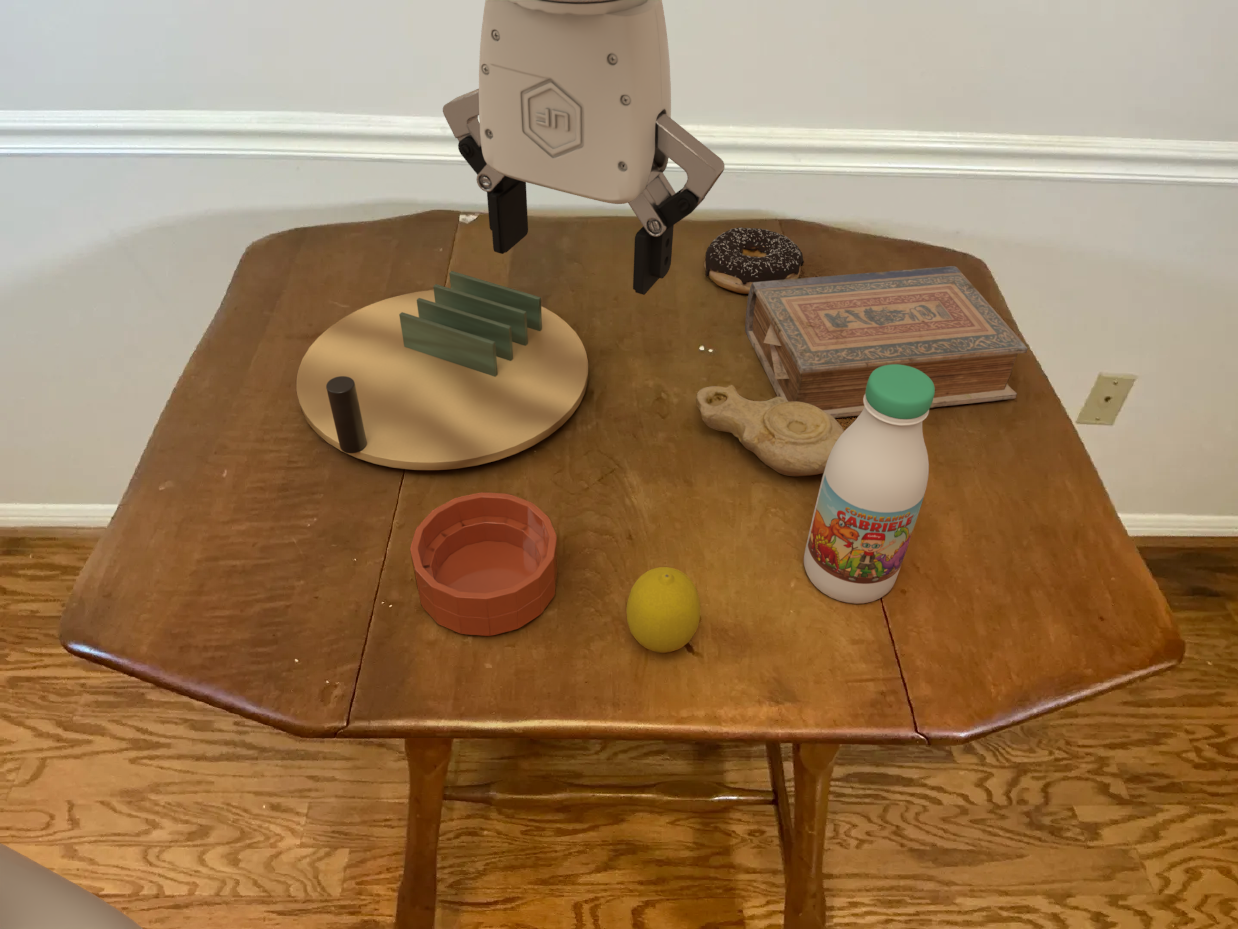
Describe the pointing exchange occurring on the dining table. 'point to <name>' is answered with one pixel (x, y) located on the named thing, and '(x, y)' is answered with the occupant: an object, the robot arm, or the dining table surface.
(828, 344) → the book
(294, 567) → the dining table surface
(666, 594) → the lemon
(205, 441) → the dining table surface
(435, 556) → the bowl
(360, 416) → the dish rack
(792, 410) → the oil lamp
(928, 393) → the milk bottle
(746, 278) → the donut
